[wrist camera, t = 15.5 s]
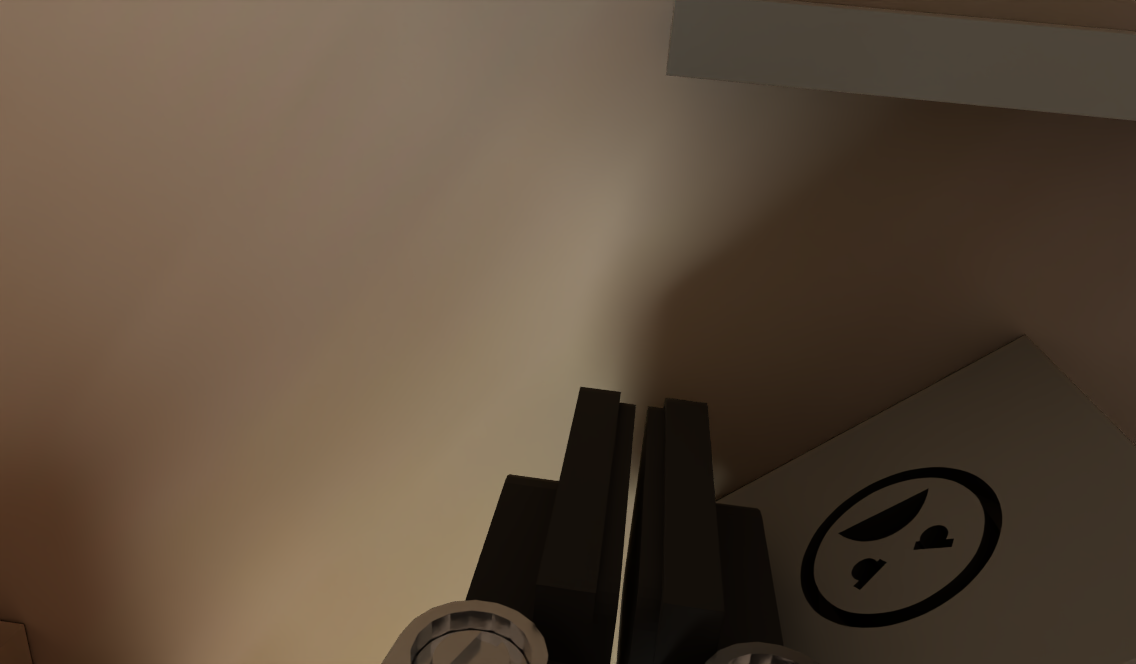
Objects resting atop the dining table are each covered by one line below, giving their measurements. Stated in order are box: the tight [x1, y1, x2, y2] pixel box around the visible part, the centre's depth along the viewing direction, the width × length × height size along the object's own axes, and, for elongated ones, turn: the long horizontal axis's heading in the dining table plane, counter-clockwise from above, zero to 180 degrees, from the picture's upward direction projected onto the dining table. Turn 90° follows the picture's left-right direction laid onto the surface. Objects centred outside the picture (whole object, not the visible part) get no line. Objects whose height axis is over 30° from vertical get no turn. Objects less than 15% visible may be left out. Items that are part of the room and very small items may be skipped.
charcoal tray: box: [666, 0, 1136, 121], centre depth 11 cm, size 12×12×2 cm
